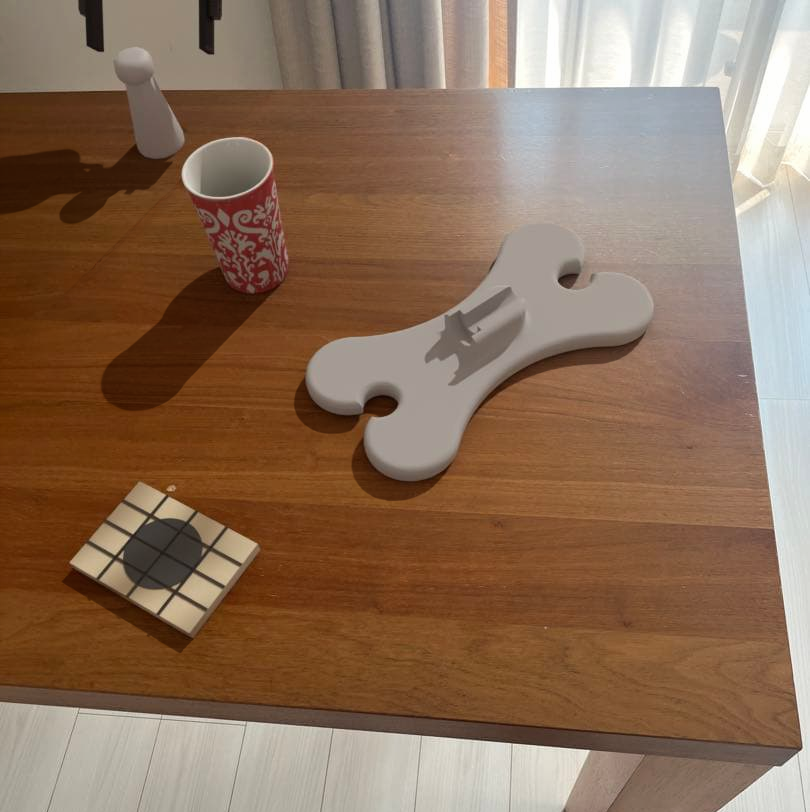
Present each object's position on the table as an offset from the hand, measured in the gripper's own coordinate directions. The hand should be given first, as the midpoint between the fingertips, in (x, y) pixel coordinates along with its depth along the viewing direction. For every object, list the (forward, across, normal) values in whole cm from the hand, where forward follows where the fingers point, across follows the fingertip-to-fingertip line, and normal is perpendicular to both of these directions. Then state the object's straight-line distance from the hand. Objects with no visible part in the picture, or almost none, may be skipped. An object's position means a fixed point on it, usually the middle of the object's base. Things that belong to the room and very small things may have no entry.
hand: (150, 50), depth 102 cm
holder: (+30, +42, -15) cm, 54 cm away
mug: (+22, +16, -7) cm, 29 cm away
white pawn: (+11, 0, +4) cm, 12 cm away
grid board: (+49, +17, -34) cm, 62 cm away
